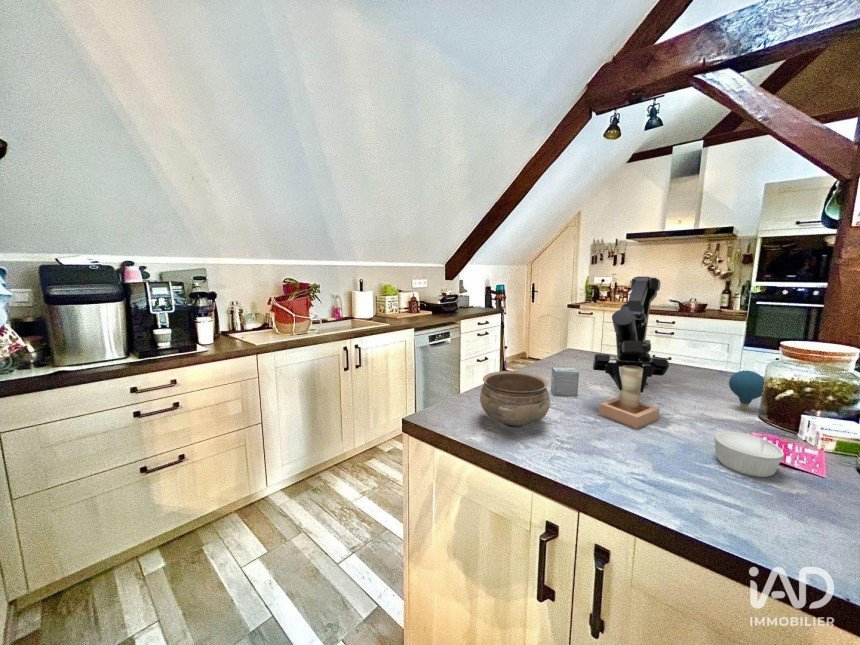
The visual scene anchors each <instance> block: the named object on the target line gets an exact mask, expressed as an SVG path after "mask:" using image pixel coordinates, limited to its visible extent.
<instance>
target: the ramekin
mask: <svg viewBox="0 0 860 645" xmlns="http://www.w3.org/2000/svg"><path fill="white" fill-rule="evenodd" d="M713 441H714V448H715V455H716V458H717V459H718V461H719V463H721V464H722V465H724V467H727V468H728V469H730V470H732V471H735V472H737V473H740V474H742V475H746V476H751V477H755V476H756V477H755V478H757V477H758V478H769V477H771V476H773V475H775V473H776V472H777V470H778V467H779V466H780V464H781V462H782V461H783V459H784V457H785V453H784V451H783V449H782V448H781V447H779V446H778V445H776V444H774V443H773V442H770V441H768V440H767V439H764V438H761V437H758V436H755V435H752V434H748V433H742V432H737V431H719V432H716V433H715V434H714V435H713ZM768 476H769V477H768Z"/></svg>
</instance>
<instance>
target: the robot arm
mask: <svg viewBox="0 0 860 645" xmlns="http://www.w3.org/2000/svg"><path fill="white" fill-rule="evenodd" d="M630 284H631V285H630V289H631V291H630V295H629V298H628V301H627V303H624V304H623V305H622V306H620V309H618V310H616V311H615V312H614V313H613V314H612V316H611V319H612V326H613V330H614V333H615V340H616V341H615V342H616V355H617V356H616V358H615V357H610V356H611V355H610V354H607V353H596V354H595V355H594V358H593V361H592V370H594V371H602V372H604V373H605V374H608V375H609V376H610V377H611V379H612V380H613V382H614V383H615V385H616V387H617V389H618V390H619V392H620V391H621V390H622V383H621V373H620V367H621V368H622V366H624V365H633V366H638V367H641V368H643V371H642V381H641V392H640V394H641V393H642V394H643V393H644V390H645V386H647V385H649V383H648V382H647V380H648V378H651V377H653V376H659V377H660V376H661V377H662V376H665V374H666V373H667V371H668V369H669V367H670V364H669V360H667V359H666V358H665V357H664V358H663V357H651V353H649V352H651V349H652V344H651V340H650V339H646V336H647V330H648V323H649V316H650V309H651V303H652V302H653V300H655V299H656V297H657V295H658V292H659V291H660V289H661V280H660V279H659V278H657V277H650V276H640V275H639V276H635V277H633V278H632V279H631V283H630Z"/></svg>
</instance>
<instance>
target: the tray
mask: <svg viewBox="0 0 860 645" xmlns="http://www.w3.org/2000/svg"><path fill="white" fill-rule="evenodd" d="M619 398H620V396H618V397H614V398H612V399H608V400H606V401H603V402H600V403H598V416H601V417H602V418H603V417H604V418H605V419H608V420H610V421H612V422H613V421H614V422H616V423H618V424H620V425H624V426H626V427H628V428H631V429H634V430H639V429H641V428H644V427H646V426H648V425H650V424H653V423H655V422H658V421H659V415H660V408H659V407H656V406H653V405H650V404H647V403H644V402H639V413H637V414H633V413H630V412H628V411H625V410H622V409H619Z"/></svg>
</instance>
